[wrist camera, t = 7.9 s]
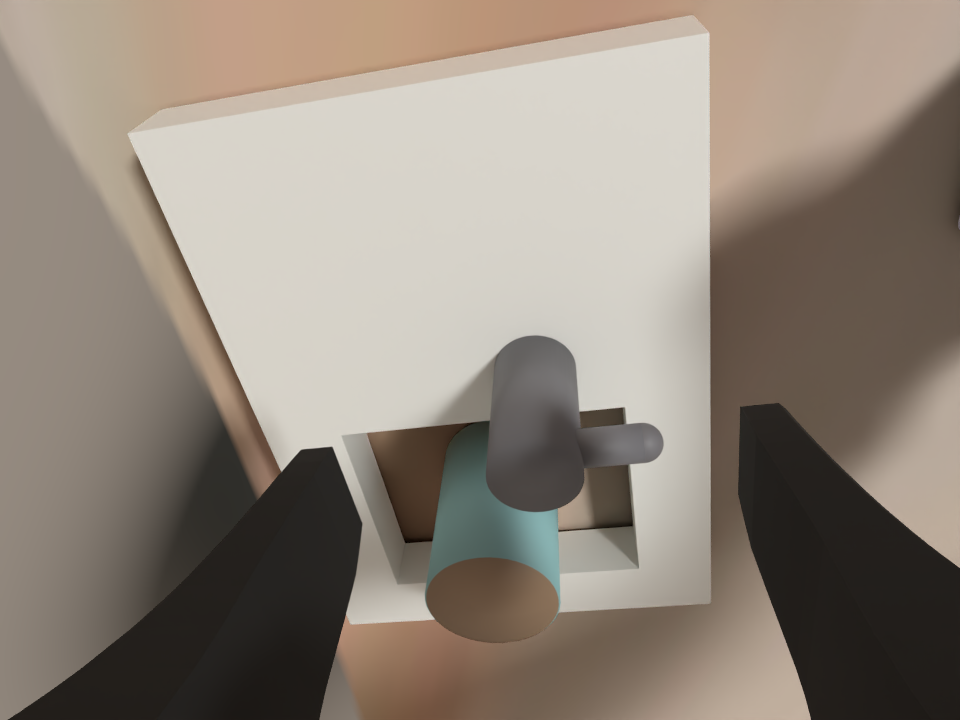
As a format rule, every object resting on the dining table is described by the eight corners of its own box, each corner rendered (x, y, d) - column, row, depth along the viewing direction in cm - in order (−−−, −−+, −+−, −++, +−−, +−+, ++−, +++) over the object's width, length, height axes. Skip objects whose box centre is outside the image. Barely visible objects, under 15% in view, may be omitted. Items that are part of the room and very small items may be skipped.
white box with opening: (693, 14, 18) (760, 89, 12) (701, 560, 29) (738, 722, 24) (161, 109, 20) (23, 207, 14) (360, 583, 31) (324, 736, 26)
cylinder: (548, 413, 25) (551, 552, 20) (561, 496, 27) (567, 640, 22) (434, 424, 26) (410, 562, 21) (456, 505, 28) (439, 646, 23)
